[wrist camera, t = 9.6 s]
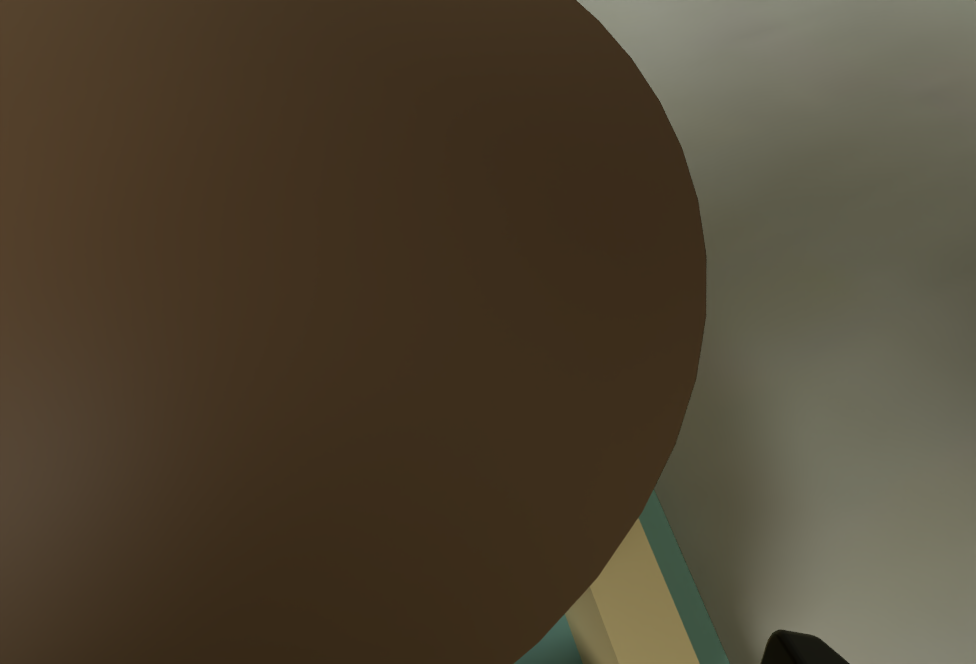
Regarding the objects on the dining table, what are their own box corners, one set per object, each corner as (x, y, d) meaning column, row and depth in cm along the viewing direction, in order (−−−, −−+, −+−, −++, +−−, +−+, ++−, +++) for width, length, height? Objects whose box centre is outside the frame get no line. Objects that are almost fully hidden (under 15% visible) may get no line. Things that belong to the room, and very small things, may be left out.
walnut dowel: (534, 692, 14) (918, 559, 3) (289, 784, 14) (-617, 1142, 2) (460, 464, 16) (505, -173, 5) (241, 532, 15) (-361, -45, 4)
